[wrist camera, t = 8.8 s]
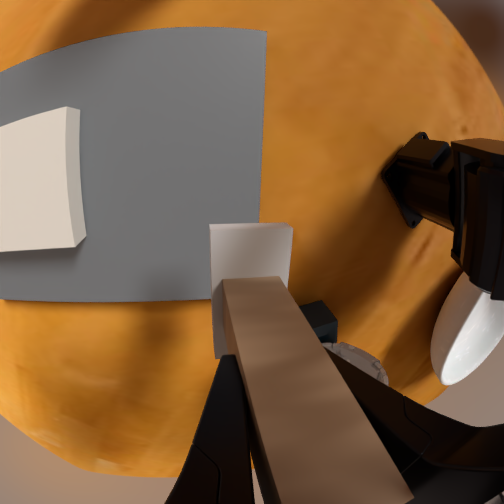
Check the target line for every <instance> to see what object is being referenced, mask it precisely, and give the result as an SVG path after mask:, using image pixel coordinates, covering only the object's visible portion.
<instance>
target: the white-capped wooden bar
mask: <svg viewBox="0 0 504 504" xmlns="http://www.w3.org/2000/svg"><path fill="white" fill-rule="evenodd" d="M292 236H293V228H292V227H291V226H290V225H288V224H287V223H237V224H209V237H210V278H211V304H212V325H213V342H214V352H215V359H221V356H222V355H228V354H235V355H236V359H237V362H238V366H239V369H240V373H241V376H242V380H243V383H244V387H245V398H246V410H247V423H248V435H249V446H250V452H251V456H252V460H253V464H254V468H255V472H256V475H257V479H258V483H259V487H260V490H261V494H262V497H263V501H264V504H405V503H407V502H408V501H410V500H412V499H413V498H414V496H413V494H412V493H411V491H410V489H409V487H408V486H407V484H406V482H405V481H404V479H403V477H402V476H401V474H400V472H399V471H398V469H397V467H396V465H395V464H394V462H393V460H392V459H391V457H390V455H389V454H388V452H387V450H386V449H385V447H384V445H383V444H382V442H381V440H380V439H379V437H378V435H377V434H376V432H375V430H374V429H373V427H372V425H371V424H370V422H369V420H368V419H367V417H366V415H365V414H364V412H363V410H362V409H361V407H360V406H359V404H358V402H357V401H356V399H355V397H354V396H353V394H352V392H351V391H350V389H349V388H348V386H347V384H346V383H345V381H344V379H343V378H342V376H341V374H340V373H339V371H338V370H337V368H336V366H335V365H334V363H333V361H332V360H331V358H330V357H329V355H328V353H327V352H326V350H325V349H324V347H323V345H322V344H321V342H320V340H319V339H318V337H317V336H316V334H315V332H314V331H313V329H312V328H311V326H310V324H309V323H308V321H307V320H306V318H305V316H304V315H303V313H302V312H301V310H300V308H299V307H298V305H297V304H296V302H295V300H294V299H293V297H292V296H291V294H290V293H289V291H288V289H287V287H288V277H289V268H290V258H291V247H292Z"/></svg>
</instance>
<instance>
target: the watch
mask: <svg viewBox="0 0 504 504" xmlns="http://www.w3.org/2000/svg"><path fill="white" fill-rule="evenodd" d="M299 308H300V310H301V312H302V313H303V315H304V316H305V318H306V320H307V321H308V323H309V324H310V326H311V328H312V329H313V331H314V332H315V334H316V336H317V337H318V339H319V340H320V342H321V344H322V345H323V346H324V347H326V348H327V349H329V350H330V351H332V352H333V353H335V354H337V355H338V356H340V357H341V358H343V359H345V360H346V361H348V362H349V363H351V364H353V365H354V366H356V367H357V368H359V369H361V370H362V371H364V372H366V373H367V374H369V375H371V376H372V377H374V378H376V379H377V380H379V381H381V382H382V383H384V384H386V385H387V386H388V384H389V381H388V376H387V373H386V371H385V370H384V368H383V367H382V366H381V365H380V361H379V360H378V359H376V358H375V357H373V356H372V355H370V354H369V353H367V352H365V351H363V350H361V349H359V348H357V347H355V346H352V345H349V344H347V343H343V342H341V343H340V344H338V343H337V327H338V320H337V319H336V318H335V316H334V315H333V314H332V313H331V311H330V310H329V309H328V307H327V306H326V305H325V304H324V302H323V301H322V300H320V301H317V302H313V303H310V304H306V305H303V306H299Z"/></svg>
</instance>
